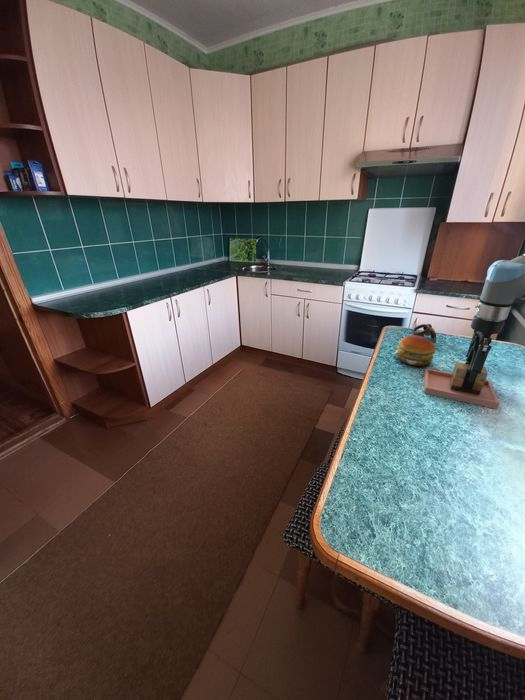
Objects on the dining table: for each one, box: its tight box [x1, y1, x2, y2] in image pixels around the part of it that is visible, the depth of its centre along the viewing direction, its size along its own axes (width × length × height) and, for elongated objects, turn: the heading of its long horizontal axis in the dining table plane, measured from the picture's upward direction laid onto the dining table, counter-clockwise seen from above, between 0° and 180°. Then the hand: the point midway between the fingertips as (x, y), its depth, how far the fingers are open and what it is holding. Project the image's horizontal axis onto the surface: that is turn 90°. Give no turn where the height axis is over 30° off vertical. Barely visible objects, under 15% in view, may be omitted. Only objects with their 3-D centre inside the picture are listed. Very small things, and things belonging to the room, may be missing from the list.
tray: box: [423, 368, 500, 410], centre depth 97 cm, size 20×14×2 cm
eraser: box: [450, 361, 489, 395], centre depth 94 cm, size 8×4×8 cm, turn 63°
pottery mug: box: [411, 323, 437, 344], centre depth 132 cm, size 12×10×8 cm
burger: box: [394, 335, 436, 367], centre depth 113 cm, size 14×14×10 cm
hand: (465, 384), depth 95 cm, fingers closed on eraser, 4 cm apart
